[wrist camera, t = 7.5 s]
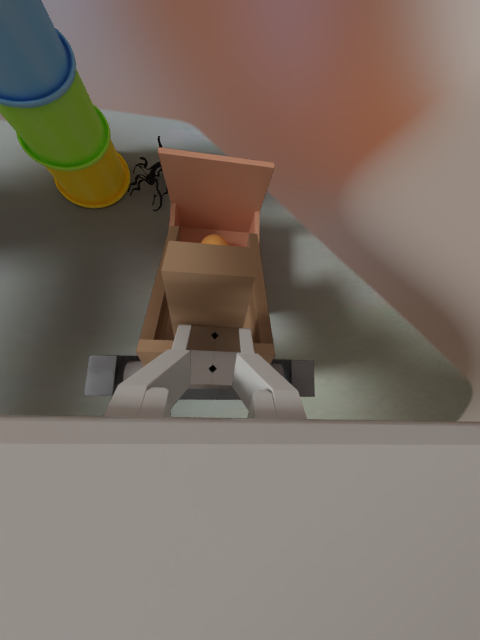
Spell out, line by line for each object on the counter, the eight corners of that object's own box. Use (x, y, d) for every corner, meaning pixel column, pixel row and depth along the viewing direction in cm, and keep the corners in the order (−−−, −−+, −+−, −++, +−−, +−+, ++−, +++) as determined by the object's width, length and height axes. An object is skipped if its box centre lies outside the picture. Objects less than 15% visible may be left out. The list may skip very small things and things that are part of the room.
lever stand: (151, 397, 30) (76, 449, 13) (157, 333, 31) (95, 307, 14) (260, 397, 32) (315, 444, 15) (261, 337, 33) (312, 318, 16)
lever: (128, 392, 15) (29, 264, 7) (162, 261, 23) (138, 127, 15) (278, 393, 16) (360, 286, 8) (261, 268, 25) (291, 149, 16)
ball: (200, 260, 34) (198, 266, 30) (200, 231, 32) (198, 234, 28) (227, 262, 34) (228, 268, 30) (229, 234, 32) (230, 237, 29)
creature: (146, 221, 35) (191, 196, 34) (126, 201, 29) (179, 171, 29) (124, 179, 35) (168, 154, 35) (100, 152, 30) (152, 122, 30)
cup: (171, 311, 32) (145, 281, 19) (178, 225, 34) (158, 147, 21) (249, 315, 33) (274, 289, 20) (251, 232, 35) (274, 162, 23)
